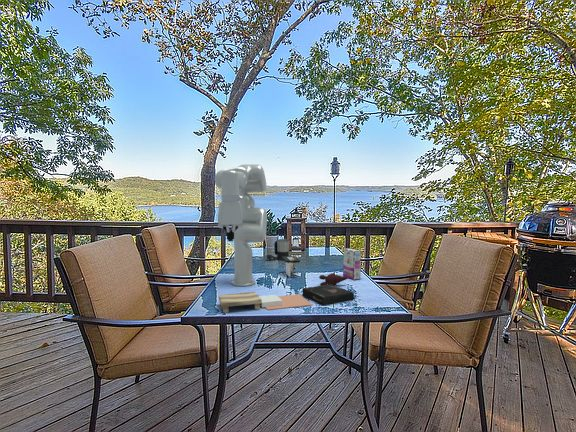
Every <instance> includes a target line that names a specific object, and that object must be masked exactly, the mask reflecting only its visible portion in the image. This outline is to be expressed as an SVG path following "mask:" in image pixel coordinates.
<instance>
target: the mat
mask: <svg viewBox="0 0 576 432" xmlns="http://www.w3.org/2000/svg"><path fill="white" fill-rule="evenodd" d="M277 296H278V297H279V298H280V299H281V300H283V305H279V306H270V307H264V308H265V309H266V310H267V311H271V310H272V311H274V310H282V309H291V308H292V309H293V308H299V307H300V308H302V307H303V308H304V307H310V306H313V303H312V302H310V301H309V299H307V298H306V297H304V296H303V295H301V294H300V293H299V294H298V293H297V294H288V295H277Z"/></svg>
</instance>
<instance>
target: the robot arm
mask: <svg viewBox="0 0 576 432" xmlns="http://www.w3.org/2000/svg"><path fill="white" fill-rule="evenodd" d="M214 183H215V185H216V186H217V187H218V188H220V189H221V190H220V191H221V202H219V204H218V209H217V210H218V212H217V213H218V214H217V222H218V224H217V228H219V229H221V230H225V232H226V240H227V241H228V242H233V246H234V254H233V255H234V257H233V258H234V263H233V264H234V265H233V266H234V269H233V270H234V279H233V280H231V284H232V285H233V286H237V287H247V286H254V285H255V284H256V280H255V279H253V248H252V246H250V244H249V243H263V242H264V241H265V240H266V236H267V225H268V224H267V223H268V222H267V221H268V213H267V210H266V208H265V207H257V206H256V207H255V205H256V201H255V199H254V197H252V195H251V194H250V193H264V192H265V191H266V189H267V180H266V175H265V170H264V168H263V166H262V165H261V164H241V165H239V166H237V167H231V168H227V169H220V170H218V171H217V172H216V173H215V176H214ZM230 226H231V229H230Z"/></svg>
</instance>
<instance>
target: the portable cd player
mask: <svg viewBox="0 0 576 432" xmlns="http://www.w3.org/2000/svg"><path fill="white" fill-rule="evenodd" d="M302 297H304V298H305V299H307V300H311V301H313V302H314V303H316V304H319V305H321V306H323V307H325V306H329V305H333V304H339V303H340V304H341V303H344V302H345V303H346V302H349V301H353V300H355V296H354V292H353V291H350V290H347V289H345V288H343V287H340V286H337V285H336V286H335V285H332V284H327V285H322V286H320V285H317V286H315V285H314V286H309V287H305V288H304V287H303V288H302Z"/></svg>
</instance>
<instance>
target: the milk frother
mask: <svg viewBox="0 0 576 432" xmlns="http://www.w3.org/2000/svg"><path fill="white" fill-rule="evenodd" d="M273 245H274V247H273V248H274V255H276V256H274V255H272V254H267V255H266V256H265V257H266V259H267V260H269V261H275V260H278V261H284V260H283V259H282V257H283V256H290V254H289V253H290V252H289V251H290V249H289V248H290V239H287V238H278V239H277V240H276V241H274V244H273Z"/></svg>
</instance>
